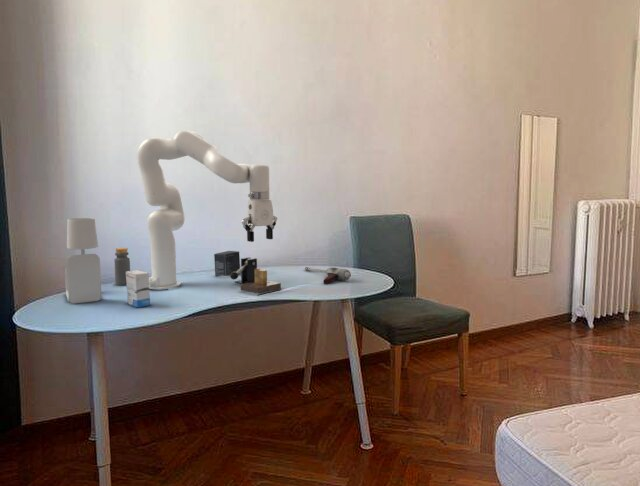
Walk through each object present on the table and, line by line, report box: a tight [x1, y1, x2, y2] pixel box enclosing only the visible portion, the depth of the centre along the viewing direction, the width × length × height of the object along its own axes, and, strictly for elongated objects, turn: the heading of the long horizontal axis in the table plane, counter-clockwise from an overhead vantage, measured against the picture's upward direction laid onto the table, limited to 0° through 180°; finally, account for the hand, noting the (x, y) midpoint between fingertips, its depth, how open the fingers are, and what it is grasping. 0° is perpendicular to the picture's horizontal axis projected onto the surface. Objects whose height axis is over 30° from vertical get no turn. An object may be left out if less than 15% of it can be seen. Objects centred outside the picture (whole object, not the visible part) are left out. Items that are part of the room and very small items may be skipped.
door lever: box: [229, 257, 251, 281], centre depth 218 cm, size 12×3×3 cm, turn 141°
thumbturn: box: [255, 267, 268, 285], centre depth 207 cm, size 5×2×6 cm, turn 51°
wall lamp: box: [64, 217, 103, 304], centre depth 193 cm, size 10×21×30 cm, turn 32°
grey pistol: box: [304, 266, 352, 285], centre depth 236 cm, size 5×35×13 cm
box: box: [213, 250, 241, 277], centre depth 239 cm, size 11×7×10 cm, turn 154°
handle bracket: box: [234, 256, 258, 285], centre depth 221 cm, size 9×8×11 cm
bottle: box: [113, 247, 131, 286], centre depth 219 cm, size 6×6×15 cm
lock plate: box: [240, 279, 282, 297], centre depth 208 cm, size 12×10×3 cm
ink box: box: [126, 269, 151, 308], centre depth 185 cm, size 9×5×12 cm, turn 45°
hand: (260, 240), depth 206 cm, fingers open, 9 cm apart
